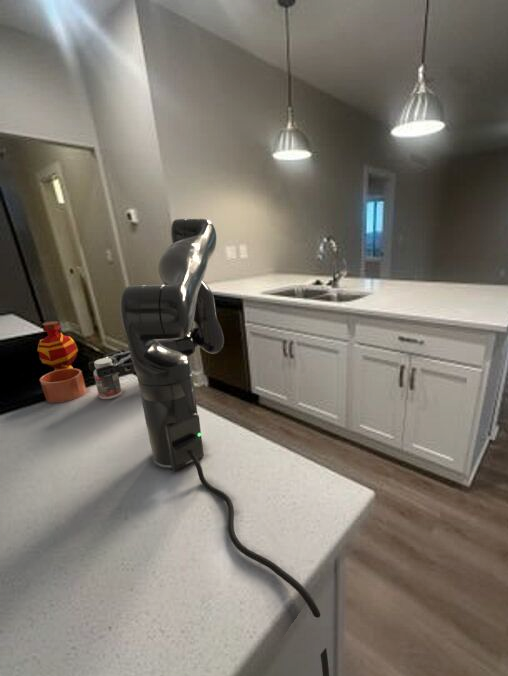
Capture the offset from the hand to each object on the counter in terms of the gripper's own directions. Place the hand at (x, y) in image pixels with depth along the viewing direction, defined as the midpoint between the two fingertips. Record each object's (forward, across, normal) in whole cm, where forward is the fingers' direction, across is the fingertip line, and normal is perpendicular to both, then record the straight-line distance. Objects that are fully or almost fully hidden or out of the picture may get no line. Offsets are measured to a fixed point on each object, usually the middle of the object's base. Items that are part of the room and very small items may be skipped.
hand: (93, 370), depth 86 cm
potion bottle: (+1, -28, +8) cm, 29 cm away
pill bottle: (-3, 0, +8) cm, 9 cm away
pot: (+5, -9, +8) cm, 13 cm away
